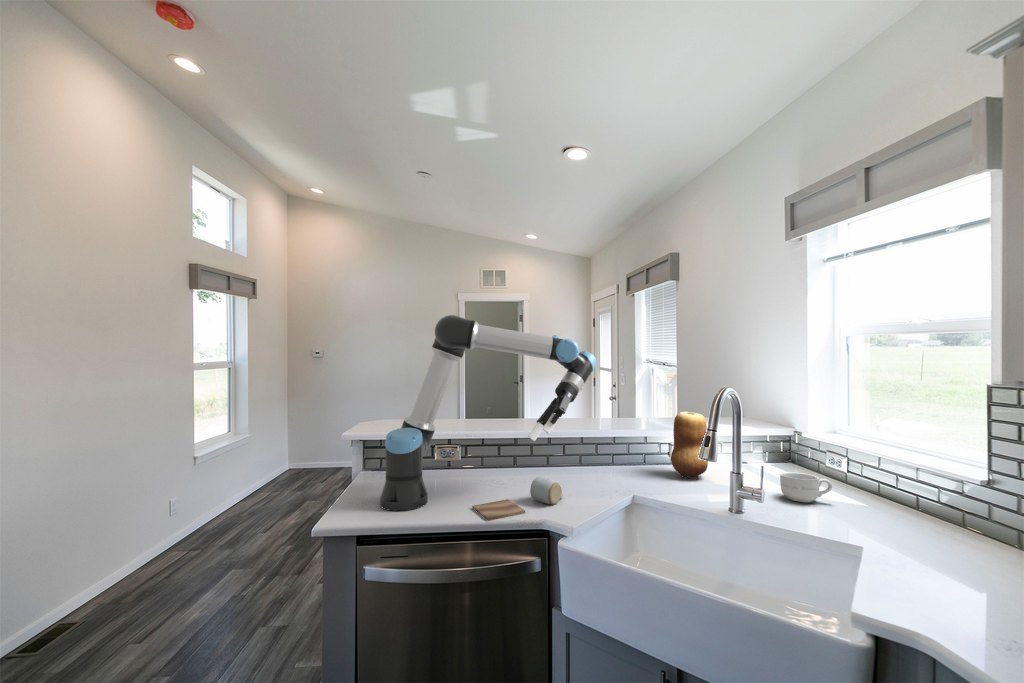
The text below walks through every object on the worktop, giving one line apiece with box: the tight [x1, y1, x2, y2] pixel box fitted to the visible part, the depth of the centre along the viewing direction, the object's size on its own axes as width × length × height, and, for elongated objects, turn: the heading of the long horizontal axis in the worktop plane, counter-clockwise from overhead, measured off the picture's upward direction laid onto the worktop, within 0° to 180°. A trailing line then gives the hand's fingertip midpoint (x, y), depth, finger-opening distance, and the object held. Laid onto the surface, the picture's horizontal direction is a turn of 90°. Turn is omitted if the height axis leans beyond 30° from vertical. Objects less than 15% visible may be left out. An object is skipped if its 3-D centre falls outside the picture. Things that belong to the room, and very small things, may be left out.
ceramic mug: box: [529, 475, 564, 505], centre depth 141 cm, size 11×8×8 cm
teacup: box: [779, 472, 833, 503], centre depth 139 cm, size 14×11×8 cm
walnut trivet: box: [472, 499, 526, 522], centre depth 133 cm, size 12×13×1 cm
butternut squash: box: [669, 411, 709, 478], centre depth 168 cm, size 14×13×25 cm
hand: (538, 435), depth 142 cm, fingers open, 13 cm apart
